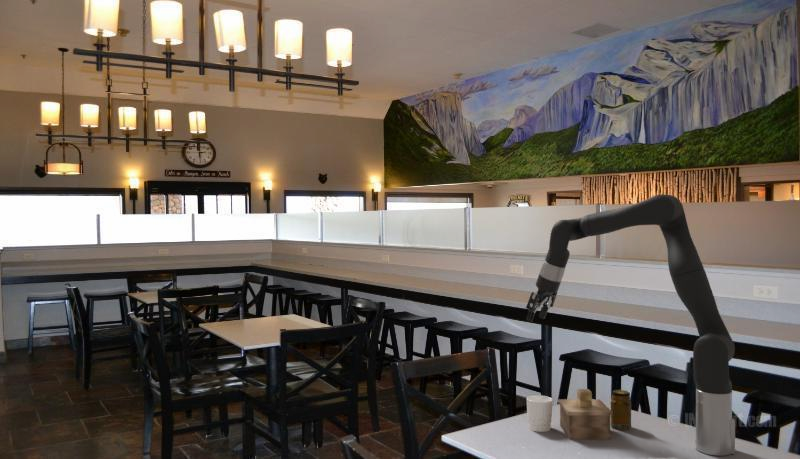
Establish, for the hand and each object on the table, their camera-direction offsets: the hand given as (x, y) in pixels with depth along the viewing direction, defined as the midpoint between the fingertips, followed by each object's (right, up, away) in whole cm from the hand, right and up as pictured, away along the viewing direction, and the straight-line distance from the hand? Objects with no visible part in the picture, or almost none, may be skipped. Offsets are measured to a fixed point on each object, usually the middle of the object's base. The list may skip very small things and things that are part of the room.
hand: (535, 319), depth 221 cm
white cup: (-2, -32, -19) cm, 37 cm away
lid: (+10, -24, -23) cm, 35 cm away
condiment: (+23, -32, -19) cm, 44 cm away
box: (+10, -32, -23) cm, 41 cm away
